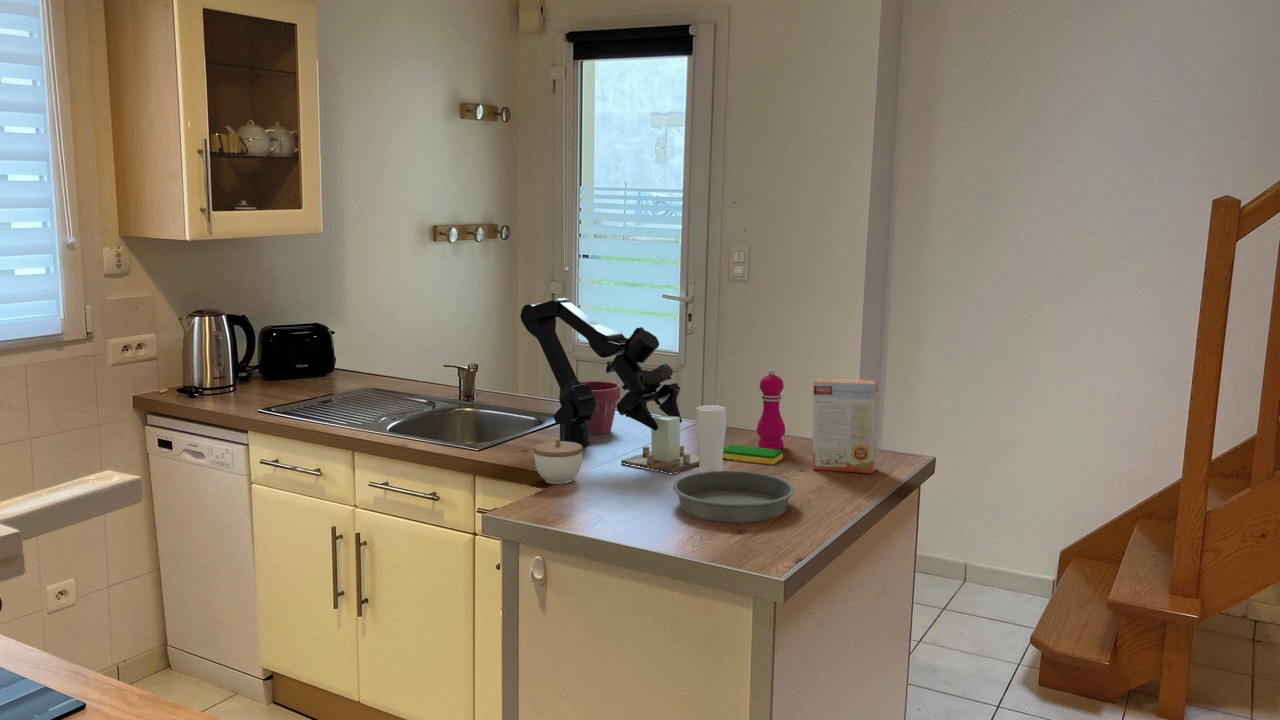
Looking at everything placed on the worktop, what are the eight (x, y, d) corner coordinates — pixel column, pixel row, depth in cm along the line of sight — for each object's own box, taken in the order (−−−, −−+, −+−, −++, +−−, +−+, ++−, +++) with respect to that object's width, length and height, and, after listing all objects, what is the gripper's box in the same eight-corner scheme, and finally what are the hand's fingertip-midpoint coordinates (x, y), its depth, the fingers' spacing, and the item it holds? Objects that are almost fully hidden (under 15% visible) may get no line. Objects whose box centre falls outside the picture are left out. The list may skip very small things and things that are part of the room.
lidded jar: (580, 473, 228) (579, 433, 227) (585, 485, 218) (585, 443, 216) (532, 475, 226) (532, 435, 225) (536, 488, 216) (535, 445, 214)
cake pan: (707, 532, 186) (707, 509, 185) (653, 498, 208) (653, 477, 208) (818, 516, 196) (819, 494, 195) (755, 485, 218) (756, 465, 217)
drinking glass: (705, 477, 224) (706, 411, 222) (690, 470, 230) (690, 406, 228) (731, 474, 227) (731, 409, 225) (715, 467, 233) (716, 404, 231)
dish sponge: (729, 453, 248) (730, 444, 248) (783, 459, 242) (783, 449, 241) (719, 459, 242) (719, 450, 241) (773, 466, 236) (773, 456, 235)
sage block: (651, 459, 237) (651, 417, 235) (662, 455, 240) (662, 414, 239) (668, 462, 234) (668, 420, 232) (679, 458, 237) (679, 417, 236)
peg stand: (621, 464, 236) (621, 452, 235) (659, 452, 247) (659, 440, 247) (672, 474, 227) (672, 461, 226) (710, 461, 238) (710, 449, 238)
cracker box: (876, 468, 231) (879, 379, 228) (873, 474, 226) (876, 383, 223) (815, 463, 236) (817, 376, 233) (811, 469, 230) (813, 380, 227)
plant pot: (608, 438, 263) (608, 391, 261) (559, 435, 267) (559, 388, 266) (627, 427, 276) (627, 382, 274) (581, 424, 281) (580, 379, 279)
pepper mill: (784, 450, 249) (785, 371, 246) (755, 449, 250) (756, 370, 247) (785, 444, 256) (787, 367, 253) (757, 443, 257) (758, 366, 254)
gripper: (626, 358, 229) (664, 411, 224) (674, 349, 243) (711, 399, 238) (600, 388, 235) (637, 440, 230) (648, 378, 249) (684, 427, 244)
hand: (669, 426), depth 235 cm, fingers open, 9 cm apart
